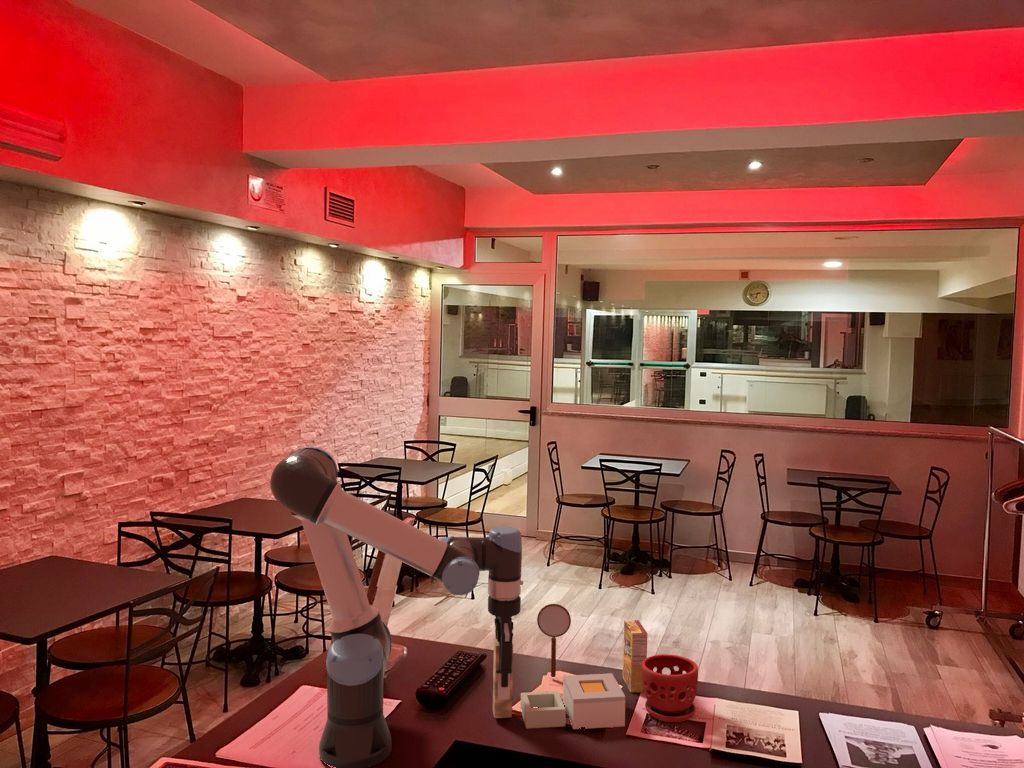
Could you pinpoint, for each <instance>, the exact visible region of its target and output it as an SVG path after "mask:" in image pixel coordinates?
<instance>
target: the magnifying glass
mask: <svg viewBox="0 0 1024 768" xmlns="http://www.w3.org/2000/svg"><path fill="white" fill-rule="evenodd" d="M536 618H537V619H536V621H537V622H536V623H537V626H538V628H539V630H540V631H541V633H543V634H544V635H545V636H547V637H550V638H551V644H550V645H551V647H550V648H551V649H550V650H551V651H550V653H551V654H550V655H551V656H550V677H551V678H552V677H556V667H557V663H556V661H557V656H556V655H557V638H558V637H561V636H563V635H565V634H566V633H567V632H568V631H569V629H570V627H571V624H572V623H571V622H572V619H571V614H570V612H569V611H568V609H566V607H565V606H563V605H561V604H558V603H549V604H547V605H545V606H543V607H542V608H541V609H540V610H539V611H538V615H537V617H536Z"/></svg>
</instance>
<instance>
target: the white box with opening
mask: <svg viewBox="0 0 1024 768" xmlns="http://www.w3.org/2000/svg"><path fill="white" fill-rule="evenodd" d="M562 677H563V678H562V702H563V703H564V705H565V708H566V710H565V712H566V711H567V713H568V715H567V717H568V716H569V718H570V720H571V723H572V725H571V728H572V729H573V730H582V729H581V727H585V729H597V728H598V729H601V728H603V729H604V728H619V727H625V726H626V725H625V724H626V695H625V693H624V692H623V689H622V688H621V686H620V684H619V683H618V681H617V680H616V677H614V674H613V673H611V672H610V673H592V674H571V675H567V674H566V675H563V676H562ZM582 683H602V685H603V687H604V689H605V690H606V691H601V692H583V690H582V688H581V684H582ZM567 713H566V714H567ZM569 718H568V719H569ZM570 720H569V721H570ZM571 723H570V724H571ZM579 728H580V729H579Z"/></svg>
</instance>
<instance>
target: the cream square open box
mask: <svg viewBox="0 0 1024 768" xmlns="http://www.w3.org/2000/svg"><path fill="white" fill-rule="evenodd" d="M533 707H539V708H533ZM521 709H522V712H521V715H522V719H523V723H524V726H525V729H541V728H558V727H559V728H560V727H566V709H565V707H564V704H563V698H561V695H560V692H559V690H553V691H551V690H549V691H533V692H531V691H529V692H520V710H521Z"/></svg>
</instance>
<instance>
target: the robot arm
mask: <svg viewBox="0 0 1024 768" xmlns="http://www.w3.org/2000/svg"><path fill="white" fill-rule="evenodd" d="M338 475H339V474H338V467H337V463H336V460H335V458H334V457H333V456H332V455H331V454H330V453H329V452H328V451H326V450H325V449H323V448H321V447H317V446H305V447H302V448H299V449H295V450H293V451H292V452H291V453H289V454H288V455H287V457H285V458H283V459H282V460H280V461H279V462H278V463H277V465H276V466H274V469H273V470H272V473H271V475H270V483H269V484H270V485H269V486H270V489H271V493H272V496H273V497H274V499H275V500H276V502H277V503H278V504H280V506H281V507H283V508H285V509H286V510H288V511H289V512H290V513H291V516H292V517H293V518H296V519H298V520H300V522H301V524H302V525H301V526H302V528H303V531H304V533H305V537H306V540H307V542H308V545H309V548H310V552H311V554H312V555H311V556H312V558H313V561H314V565H315V568H316V570H317V573H318V577H319V580H320V583H321V586H322V589H323V592H324V595H325V598H326V601H327V603H328V607H329V610H330V613H331V617H332V621H331V622H330V624H329V629H328V630H329V633H330V636H331V639H332V643H331V645H330V646H329V648H328V649H327V655H326V656H327V657H326V660H325V666H326V691H327V692H326V697H327V699H326V701H327V703H326V704H327V705H326V706H327V709H326V710H327V716H326V717H327V718H326V721H325V724H324V728H323V731H322V735H321V737H320V741H319V745H318V756H319V755H320V757H319V759H320V758H321V759H322V761H323V762H325V763H326V764H328V765H330V766H333V767H336V768H366V767H369V766H373V765H375V766H377V765H379V764H381V763H382V762H383V760H384V761H385V760H386V759H387V758H388V757H389V756H390V755H391V753H390V752H392V749H393V748H392V736H391V731H390V730H389V729H390V728H389V727H388V723H387V720H386V718H385V716H384V715H385V714H384V676H385V673H386V668H387V664H388V661H389V657H390V655H391V652H392V651H391V650H392V647H393V646H392V642H393V641H392V635H391V631H390V629H389V626H388V625H387V624H386V622H385V621H384V620H383V619H382V617H381V614H380V611H379V609H378V607H375V606H373V605H371V604H370V602H369V598H368V594H367V592H366V589H365V585H364V583H363V580H362V577H361V574H360V570H359V568H358V564H357V561H356V558H355V556H354V551H353V549H352V546H351V543H350V540H349V537H352V538H354V539H356V540H358V541H360V542H362V543H364V544H367V545H368V546H370V547H371V548H374V549H377V550H378V551H380V552H382V553H384V554H386V555H388V556H390V557H392V558H394V559H396V560H398V561H400V562H401V563H404V564H406V565H408V566H409V567H412V568H414V569H416V570H418V571H419V572H421V573H424V574H426V575H428V576H430V577H432V578H434V579H436V580H438V581H439V582H441V583H443V586H444V587H445V589H446V590H447V591H448V592H449V593H451V594H452V595H454V596H464V595H468V594H469V593H471V592H472V591H473V590H475V588H476V587H477V584H478V582H479V579H480V578H479V577H480V572H485V571H488V577H487V594H488V597H487V612H488V613H489V614H490V615H491V616H494V626H495V627H494V629H495V630H494V632H495V635H494V637H495V638H494V639H497V641H498V642H499V670H496V673H498V700H508V699H510V674H511V673H512V643H513V639H514V638H513V637H514V633H513V630H514V621H513V618H512V617H515V616H518V615H519V613H520V612H521V602H522V601H521V600H522V599H521V592H522V591H521V590H522V589H521V586H523V585H524V581H523V580H522V560H523V559H522V558H523V546H522V545H523V544H522V543H523V542H522V541H523V539H522V537H523V536H522V532H521V531H520V530H519V529H517V528H515V527H513V526H512V527H511V526H498V527H492V528H491V529H490V530H489V533H488V536H483V537H479V536H478V537H474V536H471V537H470V536H447V537H446V536H445V537H439V538H437V537H435V536H433V535H431V534H429V533H427V532H426V531H423V530H421V529H419V528H417V527H416V526H414V525H411V524H410V523H407V522H406V521H404V520H401V519H399V518H398V517H396V516H394V515H392V514H390V513H388V512H386V511H384V510H382V509H380V508H378V507H376V506H375V505H373V504H370V503H369V502H366V501H364V500H363V499H360V498H358V497H357V496H355V495H354V494H351V493H349V492H347V491H345V490H343V489H342V485H341V483H340V482H338V479H337V478H338ZM322 761H321V762H322ZM380 762H381V763H380ZM378 763H379V764H378ZM376 764H377V765H376ZM373 767H374V766H373Z"/></svg>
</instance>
